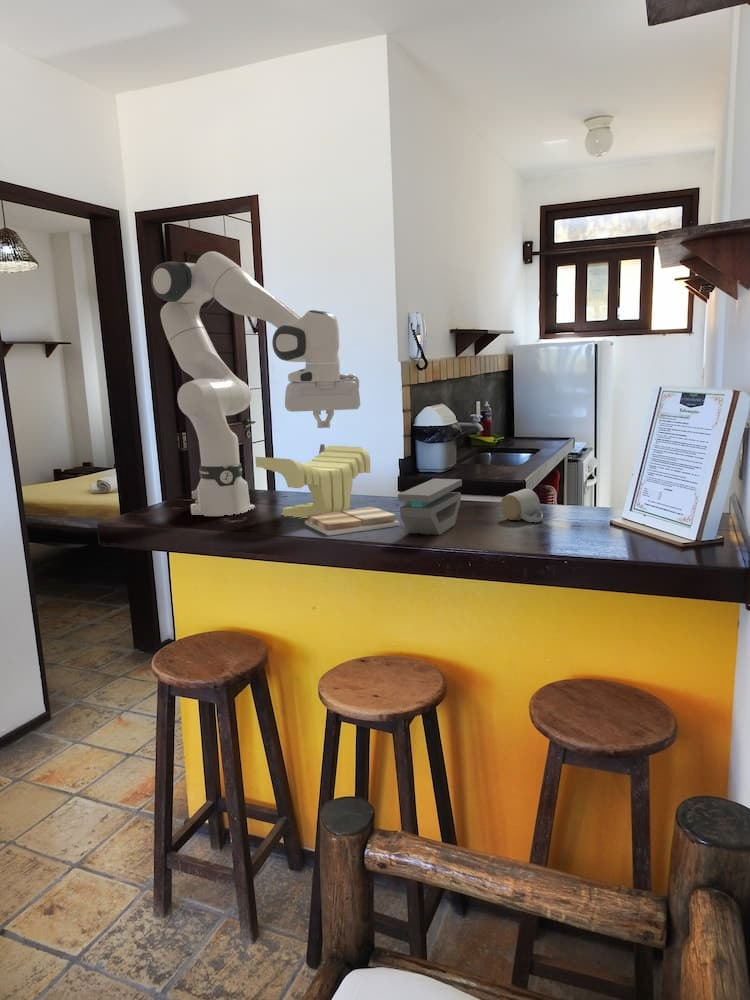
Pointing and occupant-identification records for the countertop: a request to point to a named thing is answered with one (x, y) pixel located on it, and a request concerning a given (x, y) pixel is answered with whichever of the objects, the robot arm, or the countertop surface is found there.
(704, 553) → the countertop surface
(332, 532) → the underlay board
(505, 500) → the ceramic mug
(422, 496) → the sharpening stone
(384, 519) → the ash plank
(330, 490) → the yellow ribbed sculpture
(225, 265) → the robot arm
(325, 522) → the oak plank
